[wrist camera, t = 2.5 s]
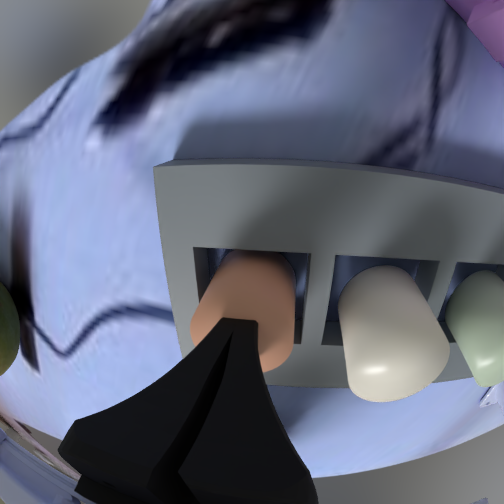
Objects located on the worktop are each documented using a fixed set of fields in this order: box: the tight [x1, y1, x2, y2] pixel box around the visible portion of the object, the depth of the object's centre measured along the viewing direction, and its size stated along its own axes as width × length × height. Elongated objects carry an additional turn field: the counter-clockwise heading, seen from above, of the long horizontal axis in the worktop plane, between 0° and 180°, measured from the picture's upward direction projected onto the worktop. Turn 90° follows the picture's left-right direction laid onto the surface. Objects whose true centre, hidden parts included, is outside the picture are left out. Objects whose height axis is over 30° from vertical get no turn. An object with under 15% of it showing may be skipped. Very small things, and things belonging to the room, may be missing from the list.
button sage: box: [445, 270, 504, 387], centre depth 10 cm, size 4×4×4 cm
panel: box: [153, 158, 504, 388], centre depth 13 cm, size 20×12×2 cm, turn 91°
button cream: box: [338, 265, 450, 402], centre depth 11 cm, size 4×4×4 cm
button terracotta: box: [190, 249, 296, 372], centre depth 13 cm, size 4×4×4 cm
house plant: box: [5, 427, 21, 444], centre depth 51 cm, size 14×14×16 cm
